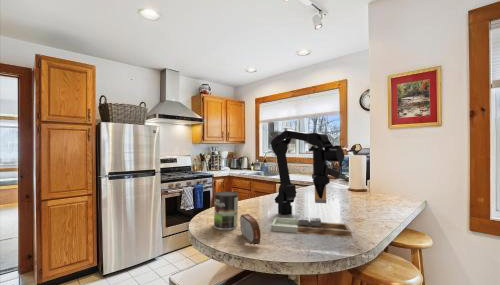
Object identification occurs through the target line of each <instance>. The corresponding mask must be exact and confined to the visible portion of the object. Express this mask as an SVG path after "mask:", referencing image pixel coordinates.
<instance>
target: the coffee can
mask: <svg viewBox="0 0 500 285" xmlns="http://www.w3.org/2000/svg"><path fill="white" fill-rule="evenodd" d="M238 210H239V192H236V191H218V192H214V214H213V215H214V219H213V220H214V222H213V224H214V225H213V227H214V229H215V230H219V231H231V230H235V229H237V228H238V227H239V226H238V223H239V222H238V221H239V220H238V219H239V217H238V216H239V211H238Z"/></svg>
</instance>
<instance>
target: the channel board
mask: <svg viewBox="0 0 500 285" xmlns="http://www.w3.org/2000/svg"><path fill="white" fill-rule="evenodd" d="M297 227H298V233H297V234H305V235H317V236H328V237H329V236H330V237H343V238H352V231H351V228H350V227H349V224H348V223H339V222H338V223H337V222H323V221H321V228H314V227H310V220H309V227H302V226H299V219H298V226H297Z"/></svg>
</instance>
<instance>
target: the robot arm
mask: <svg viewBox="0 0 500 285" xmlns="http://www.w3.org/2000/svg"><path fill="white" fill-rule="evenodd" d="M292 139H293V140H299V141H303V142H306V143H307V144H310V145H311V146H310V148H309V149H308V152H312V174H311V179H312V183H313V186H314V189H315V188H316V191H317V193H318V196H319V198H322V196H323V192H324V187H325V186H326V187H327V185H329V184H330V183H331V182H330V181H331V180H330V176H331V177H334V178H335V179H336V180H337V179H338V180H339V179H340V176H341V173H342V172H341V171H340V170H338V169H337V168H338V167H335V166H332V167H329V164H327V162H330V163H332V162H334V163H341V162H343V161H344V159H345V152H344V149H342V145H341V144H340V145H339V144H337V145H333V143H332V142H331V141H330V139H329V136H328V134H327V133H323V132H303V131H296V130H292V129H285V130H284V131H283V132H281V133H280V134H278V135H276V136H275V137H274V138H273V139H271V142H270V146H271V150H272V152H273V153H274V155H275V156H276V161H277V168H278V175H279V176H278V177H279V182H280V184H279V187H278V193H277V195H276V197H275V198H274V202H275V204H277V215H281V216H290V215H293V205H292V203H294V202H295V199H296V197H297V190H296V185H295V184H292V182H291V178H290V172H289V164H288V159H287V152H288V146H289V145H290V144H291V142H292Z"/></svg>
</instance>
